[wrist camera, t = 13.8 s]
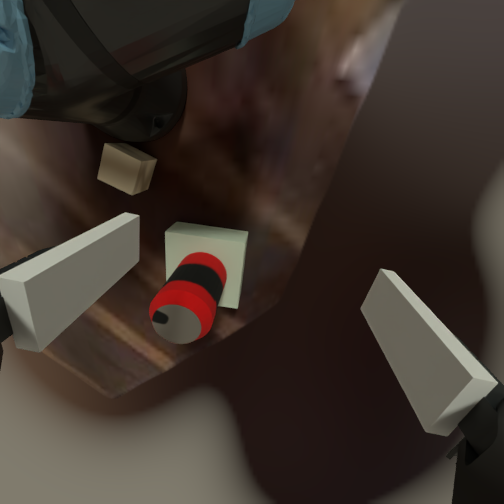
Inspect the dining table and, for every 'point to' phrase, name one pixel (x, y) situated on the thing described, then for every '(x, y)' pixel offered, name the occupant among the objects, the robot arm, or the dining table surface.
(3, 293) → the robot arm
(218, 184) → the dining table surface
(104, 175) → the maple cube
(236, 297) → the green block
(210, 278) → the soda can
